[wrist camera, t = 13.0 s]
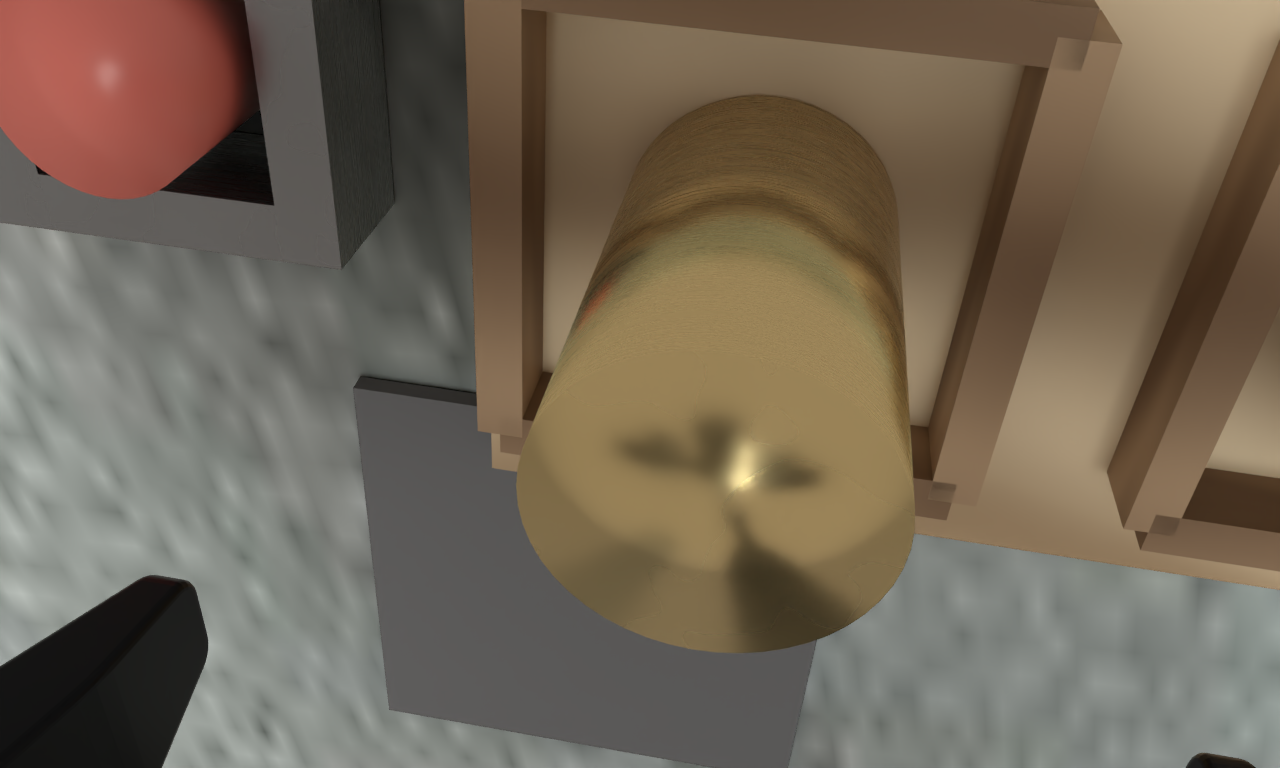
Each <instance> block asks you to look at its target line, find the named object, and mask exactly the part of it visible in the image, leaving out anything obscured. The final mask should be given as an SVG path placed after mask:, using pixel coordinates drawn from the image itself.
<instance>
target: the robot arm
mask: <svg viewBox="0 0 1280 768" xmlns="http://www.w3.org/2000/svg"><path fill="white" fill-rule="evenodd" d="M207 653H208V637H207V633H206V628H205V624H204V620H203V616H202V612H201V608H200V604H199V600H198V596H197V592H196V590H195V587H194V586H193V585H192V584H191V583H190V582H189V581H186V580H182V579H176V578H170V577H164V576H158V575H150V576H146V577H143V578H141V579H139V580H137V581H135V582H134V583H132V584H131V585H129V586H127V587H126V588H124V589H123V590H121V591H119V592H118V593H116V594H115V595H113V596H111V597H110V598H108V599H107V600H105V601H103V602H102V603H100V604H99V605H97V606H96V607H94V608H92V609H91V610H89V611H88V612H86V613H84V614H83V615H81V616H80V617H78V618H76V619H75V620H73V621H72V622H70V623H68V624H67V625H65V626H64V627H62V628H60V629H59V630H57V631H56V632H54V633H53V634H51V635H49V636H48V637H46V638H45V639H43V640H41V641H40V642H38V643H37V644H35V645H33V646H32V647H30V648H29V649H27V650H25V651H24V652H22V653H21V654H19V655H17V656H16V657H14V658H13V659H11V660H9V661H8V662H6V663H5V664H3V665H2V666H0V768H162V766H163V764H164V761H165V759H166V757H167V754H168V752H169V749H170V747H171V745H172V742H173V740H174V737H175V735H176V733H177V730H178V728H179V725H180V723H181V720H182V718H183V716H184V713H185V711H186V708H187V706H188V704H189V701H190V699H191V696H192V694H193V692H194V689H195V687H196V684H197V682H198V679H199V677H200V675H201V672H202V670H203V667H204V665H205V662H206V658H207ZM1186 768H1255V767H1254V766H1253V765H1252V764H1250V763H1249V762H1247V761H1245V760H1242V759H1239V758H1233V757H1227V756H1221V755H1215V754H1210V753H1199V754H1197V755H1195V756H1194V757H1192V759H1191V760H1190V761H1189V763H1188V764H1187V766H1186Z"/></svg>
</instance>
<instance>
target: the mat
mask: <svg viewBox="0 0 1280 768" xmlns="http://www.w3.org/2000/svg"><path fill="white" fill-rule="evenodd" d="M353 390H354V399H355V408H356V417H357V426H358V435H359V444H360V453H361V462H362V471H363V480H364V489H365V498H366V507H367V515H368V524H369V533H370V542H371V551H372V560H373V569H374V578H375V587H376V596H377V605H378V614H379V623H380V631H381V640H382V649H383V658H384V667H385V676H386V685H387V694H388V703H389V710H394V711H399V712H405V713H410V714H416V715H422V716H427V717H433V718H438V719H444V720H450V721H455V722H461V723H466V724H472V725H478V726H483V727H489V728H494V729H500V730H506V731H511V732H517V733H522V734H528V735H534V736H539V737H545V738H550V739H556V740H561V741H567V742H573V743H578V744H584V745H589V746H595V747H601V748H606V749H612V750H617V751H623V752H629V753H634V754H640V755H645V756H651V757H657V758H662V759H668V760H673V761H679V762H684V763H690V764H696V765H701V766H707V767H712V768H788V765H789V760H790V756H791V751H792V747H793V742H794V738H795V734H796V729H797V725H798V720H799V716H800V712H801V707H802V703H803V698H804V694H805V690H806V685H807V681H808V676H809V672H810V667H811V663H812V659H813V654H814V650H815V645H816V641H817V640H814V641H812V642H809V643H806V644H802V645H798V646H794V647H790V648H786V649H780V650H773V651H766V652H754V653H719V652H709V651H701V650H693V649H688V648H683V647H679V646H674V645H670V644H666V643H663V642H660V641H657V640H653V639H650V638H647V637H644V636H642V635H640V634H637V633H635V632H632V631H630V630H627V629H625V628H623V627H621V626H619V625H617V624H615V623H614V622H612V621H610V620H608V619H606V618H604V617H603V616H601V615H600V614H598V613H596V612H595V611H593V610H592V609H590V608H589V607H587V606H586V605H585V604H583V603H582V602H581V601H580V600H578V599H577V598H576V597H575V596H573V595H572V594H571V593H570V592H569V591H568V590H567V589H566V588H565V587H564V586H563V585H562V584H561V583H560V582H559V581H558V580H557V579H556V578H555V577H554V576H553V575H552V574H551V572H550V571H549V570H548V569H547V567H546V566H545V565H544V563H543V562H542V561H541V560H540V558H539V556H538V555H537V553H536V551H535V549H534V548H533V546H532V544H531V543H530V541H529V538H528V536H527V533H526V531H525V529H524V526H523V524H522V520H521V516H520V512H519V508H518V501H517V490H516V482H517V472H515V471H508V470H502V469H496V468H492V442H491V433H487V432H481V431H478V422H477V394H474V393H467V392H460V391H453V390H447V389H440V388H433V387H427V386H420V385H413V384H406V383H400V382H393V381H386V380H379V379H373V378H366V377H360V378H359V380H358V381H357V383H356V384H355V386H354V388H353Z"/></svg>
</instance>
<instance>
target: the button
mask: <svg viewBox="0 0 1280 768" xmlns="http://www.w3.org/2000/svg"><path fill="white" fill-rule="evenodd" d="M259 110H260V104H259V97H258V90H257V83H256V76H255V69H254V63H253V56H252V49H251V42H250V35H249V28H248V21H247V15H246V8H245V1H244V0H0V127H1V129H2V130H3V131H4V133H5V134H6V135H7V137H8V138H9V139H10V140H11V141H12V142H13V144H14V145H15V146H16V147H17V148H18V149H19V150H20V151H21V152H22V153H23V154H24V155H25V156H26V157H27V158H28V159H29V160H30V161H32V162H33V163H34V164H35V165H37V166H38V167H39V168H40V169H42V170H43V171H44V172H46V173H47V174H49V175H50V176H52V177H53V178H55V179H57V180H59V181H60V182H62V183H64V184H66V185H68V186H70V187H72V188H75V189H77V190H79V191H82V192H85V193H88V194H91V195H94V196H99V197H104V198H110V199H134V198H139V197H144V196H147V195H150V194H152V193H155V192H157V191H159V190H160V189H162V188H164V187H165V186H167V185H168V184H169V183H170V182H172V181H173V180H174V179H175V178H177V177H178V176H179V175H180V174H182V173H183V172H184V171H185V170H186V169H188V168H189V167H190V166H191V165H193V164H194V163H195V162H196V161H198V160H199V159H200V158H201V157H202V156H204V155H205V154H206V153H207V152H209V151H210V150H211V149H212V148H214V147H215V146H216V145H217V144H218V143H220V142H221V141H222V140H223V139H225V138H226V137H227V136H228V135H230V134H231V133H232V132H233V131H234V130H236V129H237V128H238V127H239V126H241V125H242V124H243V123H244V122H245V121H247V120H248V119H249V118H250V117H252V116H253V115H254V114H255V113H256V112H257V111H259Z"/></svg>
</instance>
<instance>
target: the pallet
mask: <svg viewBox="0 0 1280 768" xmlns="http://www.w3.org/2000/svg"><path fill="white" fill-rule="evenodd" d="M464 14H465V45H466V77H467V108H468V139H469V171H470V202H471V234H472V265H473V296H474V328H475V359H476V390H477V422H478V431H481V432H487V433H491V442H492V468H496V469H502V470H508V471H515V472H517V470H518V464H519V460H520V456H521V453H522V449H523V446H524V444H525V441H526V439H527V436H528V434H529V431H530V429H531V426H532V424H533V421H534V419H535V416H536V414H537V411H538V409H539V406H540V404H541V401H542V399H543V396H544V394H545V391H546V389H547V386H548V384H549V381H550V379H551V376H552V374H553V372H554V369H555V367H556V364H557V362H558V359H559V357H560V354H561V352H562V349H563V347H564V344H565V342H566V339H567V337H568V334H569V332H570V329H571V327H572V324H573V322H574V319H575V317H576V314H577V312H578V309H579V307H580V304H581V302H582V299H583V297H584V295H585V292H586V290H587V287H588V285H589V282H590V280H591V277H592V275H593V272H594V270H595V267H596V265H597V262H598V260H599V257H600V255H601V252H602V250H603V247H604V245H605V242H606V240H607V237H608V235H609V232H610V230H611V227H612V225H613V222H614V220H615V218H616V215H617V213H618V210H619V208H620V205H621V203H622V200H623V198H624V195H625V193H626V190H627V188H628V185H629V183H630V180H631V178H632V176H633V173H634V171H635V169H636V167H637V164H638V162H639V161H640V159H641V158H642V156H643V154H644V153H645V151H646V150H647V148H648V147H649V146H650V145H651V144H652V142H653V141H654V140H655V139H656V138H657V137H658V135H660V134H661V133H662V132H663V131H664V130H665V129H666V128H667V127H669V126H670V125H671V124H672V123H674V122H675V121H677V120H678V119H680V118H681V117H683V116H684V115H686V114H687V113H689V112H692V111H694V110H696V109H698V108H700V107H702V106H704V105H707V104H710V103H713V102H716V101H719V100H723V99H728V98H733V97H739V96H752V95H765V96H779V97H784V98H790V99H795V100H799V101H802V102H805V103H808V104H811V105H814V106H816V107H819V108H821V109H823V110H825V111H827V112H829V113H831V114H833V115H834V116H836V117H838V118H839V119H841V120H842V121H844V122H845V123H847V124H848V125H849V126H851V127H852V128H853V129H854V130H855V131H856V132H858V133H859V134H860V135H861V136H862V137H863V138H864V139H865V140H866V141H867V143H868V144H869V145H870V146H871V147H872V148H873V149H874V151H875V152H876V154H877V155H878V157H879V158H880V160H881V161H882V163H883V164H884V167H885V169H886V171H887V173H888V175H889V177H890V179H891V182H892V186H893V189H894V192H895V196H896V202H897V208H898V219H899V237H900V254H901V272H902V289H903V307H904V324H905V342H906V360H907V377H908V395H909V412H910V430H911V448H912V465H913V483H914V500H915V531H914V533H915V534H922V535H928V536H935V537H941V538H948V539H954V540H961V541H967V542H973V543H980V544H986V545H993V546H999V547H1006V548H1012V549H1019V550H1025V551H1032V552H1038V553H1045V554H1051V555H1057V556H1064V557H1070V558H1077V559H1083V560H1090V561H1096V562H1103V563H1109V564H1116V565H1122V566H1128V567H1135V568H1141V569H1148V570H1154V571H1161V572H1167V573H1174V574H1180V575H1187V576H1193V577H1200V578H1206V579H1212V580H1219V581H1225V582H1232V583H1238V584H1245V585H1251V586H1258V587H1264V588H1271V589H1277V590H1280V0H464Z"/></svg>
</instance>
